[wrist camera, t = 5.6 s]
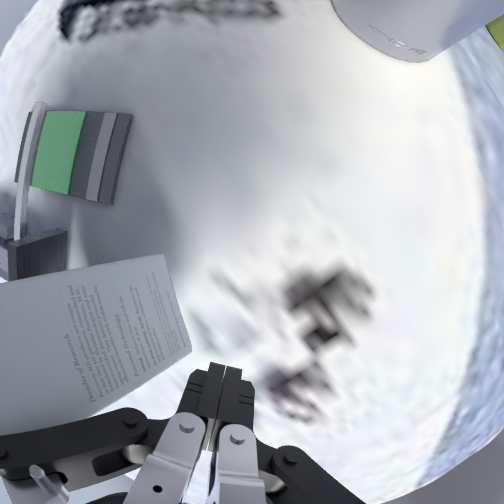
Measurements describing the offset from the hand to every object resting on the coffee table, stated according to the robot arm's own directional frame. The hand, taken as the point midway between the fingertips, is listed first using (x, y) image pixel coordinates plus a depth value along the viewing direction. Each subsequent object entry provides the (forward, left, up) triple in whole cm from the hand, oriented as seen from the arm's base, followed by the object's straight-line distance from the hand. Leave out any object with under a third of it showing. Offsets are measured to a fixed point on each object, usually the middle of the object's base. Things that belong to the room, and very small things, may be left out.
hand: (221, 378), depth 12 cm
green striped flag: (-4, -21, -6) cm, 22 cm away
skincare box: (0, -6, -4) cm, 7 cm away
